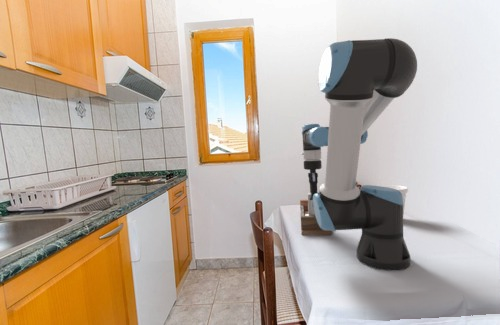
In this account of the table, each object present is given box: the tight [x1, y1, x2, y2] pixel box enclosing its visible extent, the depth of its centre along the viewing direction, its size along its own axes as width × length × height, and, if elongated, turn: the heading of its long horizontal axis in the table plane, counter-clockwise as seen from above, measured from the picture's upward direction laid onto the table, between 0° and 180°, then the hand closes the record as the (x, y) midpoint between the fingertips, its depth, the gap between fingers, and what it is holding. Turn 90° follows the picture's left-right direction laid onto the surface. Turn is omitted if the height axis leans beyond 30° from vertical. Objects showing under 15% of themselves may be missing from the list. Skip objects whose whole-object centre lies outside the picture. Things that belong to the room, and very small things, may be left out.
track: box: [299, 199, 332, 236], centre depth 122 cm, size 36×12×7 cm, turn 169°
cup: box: [380, 184, 409, 216], centre depth 118 cm, size 12×12×15 cm
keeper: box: [305, 192, 315, 216], centre depth 112 cm, size 6×8×14 cm
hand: (314, 212), depth 112 cm, fingers closed on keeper, 4 cm apart
